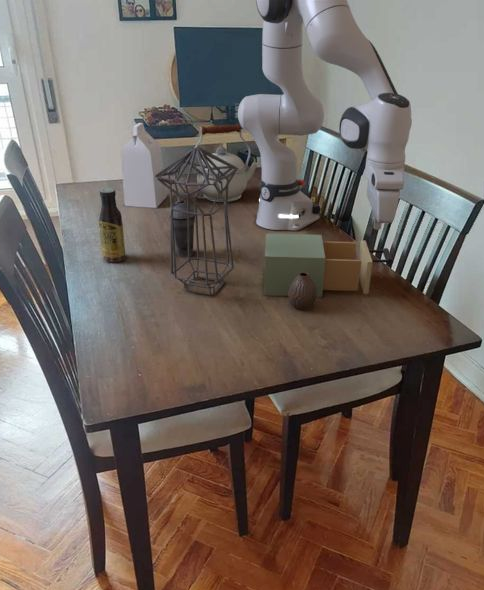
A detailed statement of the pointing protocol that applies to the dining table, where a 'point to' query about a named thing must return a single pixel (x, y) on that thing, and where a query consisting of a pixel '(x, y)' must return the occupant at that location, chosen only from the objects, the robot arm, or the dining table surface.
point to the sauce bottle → (111, 227)
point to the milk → (142, 170)
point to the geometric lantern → (177, 166)
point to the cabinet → (292, 261)
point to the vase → (302, 292)
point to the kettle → (239, 178)
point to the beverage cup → (183, 228)
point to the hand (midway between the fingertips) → (376, 227)
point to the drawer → (349, 265)
